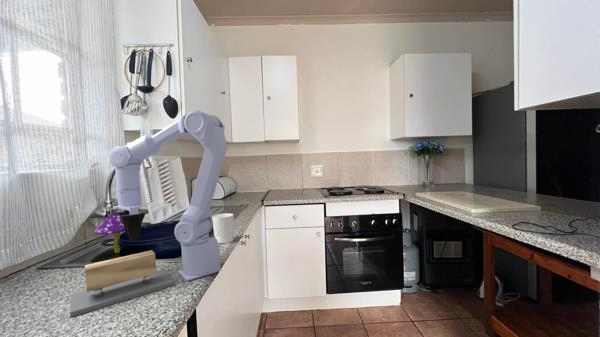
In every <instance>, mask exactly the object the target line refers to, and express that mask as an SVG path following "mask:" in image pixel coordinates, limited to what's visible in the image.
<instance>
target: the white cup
mask: <svg viewBox="0 0 600 337" xmlns="http://www.w3.org/2000/svg"><path fill="white" fill-rule="evenodd" d="M234 226H235V225H234V213H226V212H225V213H219V214H218V213H217V214H214V215H212V229H213V233H214V234H213V235H214V236H213V237H215V238H216V239H217V241H218V243H222V244H221V245H223V243H224V244H229V243H231V242H233V241H234V232H235V231H234V230H235V228H234Z"/></svg>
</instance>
